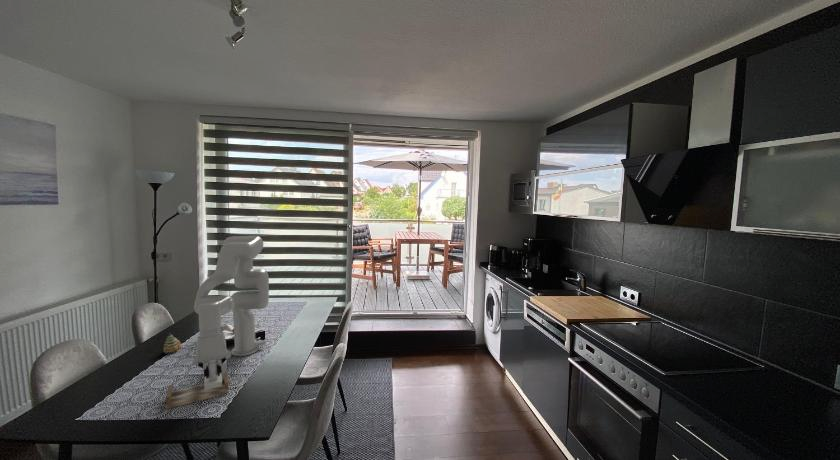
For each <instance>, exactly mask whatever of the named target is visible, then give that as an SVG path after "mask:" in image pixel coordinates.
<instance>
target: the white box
mask: <svg viewBox="0 0 840 460" xmlns="http://www.w3.org/2000/svg"><path fill="white" fill-rule="evenodd" d="M221 359H222V358H221ZM227 362H228V361H227V360H226V361H225V362H224V363H223V364H222V365H221V370H222V372H221V373H220V374H222V379H224V373H227V374H228V363H227ZM217 364H218V363H217ZM207 366H208V363H207ZM205 377H206V376H204V378H205Z"/></svg>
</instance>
